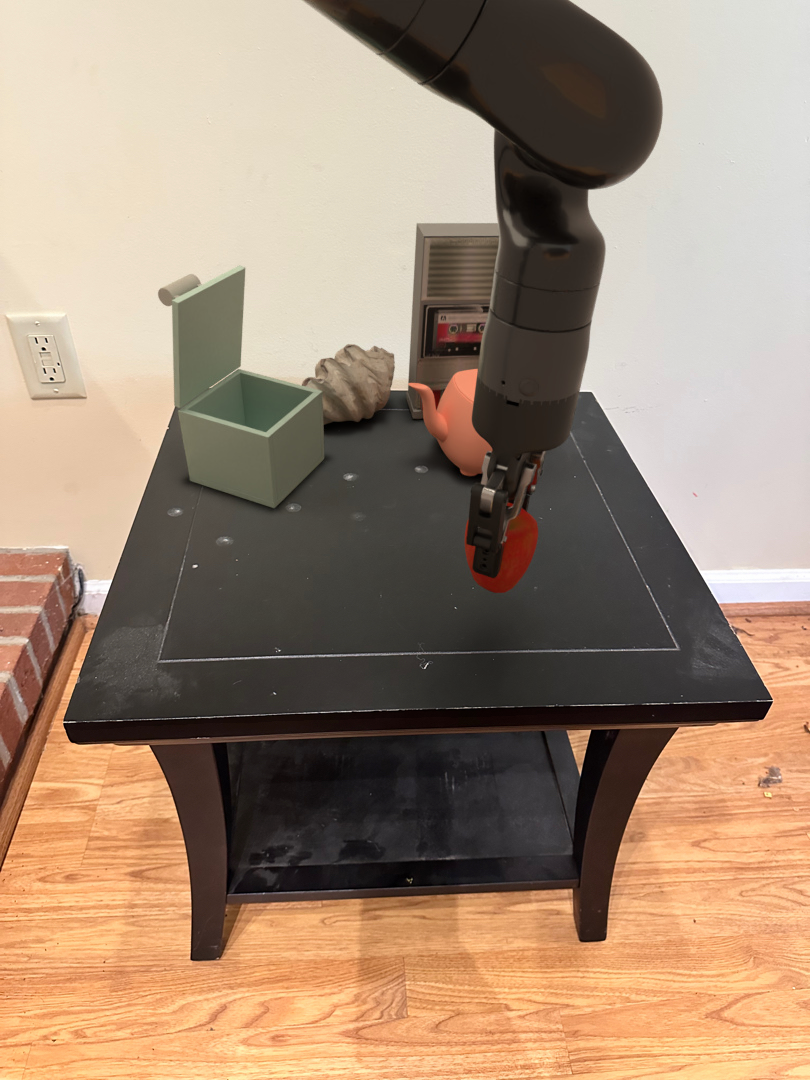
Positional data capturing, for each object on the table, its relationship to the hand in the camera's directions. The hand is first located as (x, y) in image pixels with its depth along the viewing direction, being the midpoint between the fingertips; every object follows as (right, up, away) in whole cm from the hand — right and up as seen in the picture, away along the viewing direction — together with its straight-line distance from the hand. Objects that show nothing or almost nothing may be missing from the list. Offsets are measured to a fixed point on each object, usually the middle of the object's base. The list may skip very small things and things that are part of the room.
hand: (498, 549), depth 63 cm
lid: (-30, +24, +20) cm, 43 cm away
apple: (0, -3, +3) cm, 4 cm away
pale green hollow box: (-27, +10, +29) cm, 40 cm away
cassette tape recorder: (-1, +20, +43) cm, 47 cm away
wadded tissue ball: (-16, +18, +40) cm, 47 cm away
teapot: (+1, +12, +34) cm, 36 cm away
